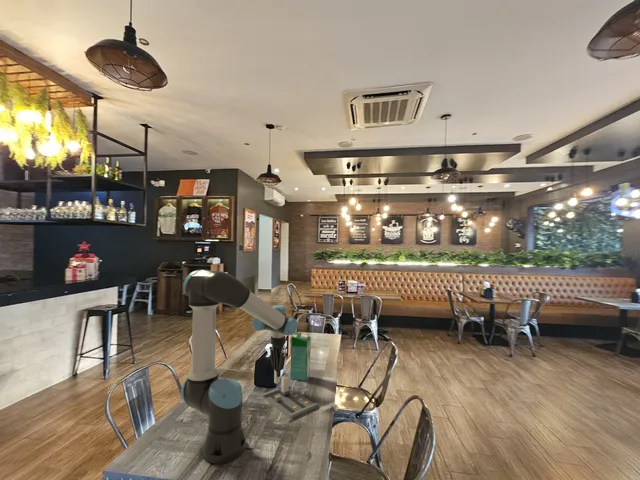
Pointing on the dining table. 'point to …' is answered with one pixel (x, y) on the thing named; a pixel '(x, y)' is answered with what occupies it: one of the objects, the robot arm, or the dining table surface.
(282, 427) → the dining table surface
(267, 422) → the dining table surface
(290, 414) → the console
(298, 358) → the milk carton
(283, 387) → the fader
